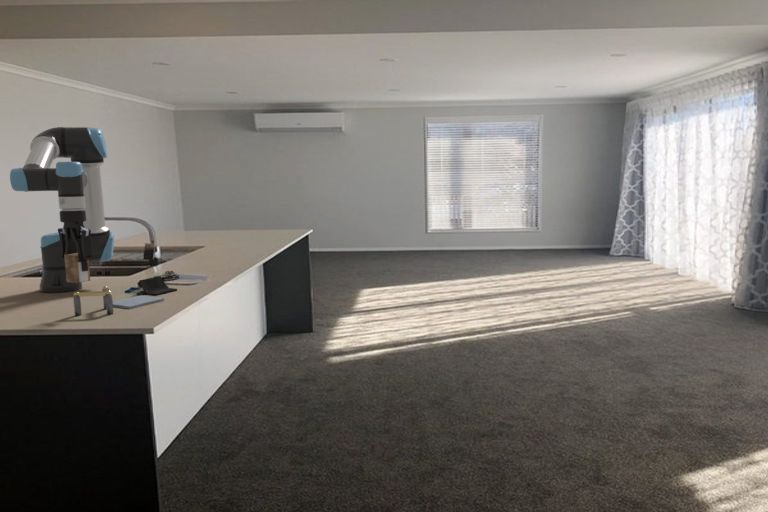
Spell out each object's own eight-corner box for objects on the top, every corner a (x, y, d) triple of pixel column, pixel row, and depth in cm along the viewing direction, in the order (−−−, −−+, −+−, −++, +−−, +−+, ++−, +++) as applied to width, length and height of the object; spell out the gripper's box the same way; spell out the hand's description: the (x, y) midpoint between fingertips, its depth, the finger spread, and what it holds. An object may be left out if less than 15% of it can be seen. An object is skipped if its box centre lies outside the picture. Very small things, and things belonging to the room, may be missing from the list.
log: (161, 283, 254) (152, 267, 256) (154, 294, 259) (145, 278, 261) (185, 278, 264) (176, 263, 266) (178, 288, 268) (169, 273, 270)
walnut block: (66, 281, 195) (64, 254, 193) (80, 279, 199) (78, 252, 198) (76, 283, 192) (74, 255, 191) (90, 280, 197) (88, 253, 195)
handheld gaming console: (160, 292, 227) (148, 270, 228) (148, 302, 228) (135, 281, 230) (179, 290, 238) (167, 270, 239) (167, 300, 239) (155, 280, 241)
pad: (106, 305, 211) (106, 303, 211) (141, 297, 224) (141, 295, 224) (130, 308, 206) (129, 306, 206) (164, 300, 219) (163, 298, 219)
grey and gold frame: (73, 315, 197) (71, 292, 196) (107, 307, 208) (105, 285, 207) (93, 318, 192) (91, 294, 191) (127, 310, 204) (125, 287, 202)
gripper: (44, 209, 193) (50, 280, 196) (79, 211, 185) (85, 284, 188) (65, 208, 200) (71, 276, 203) (101, 209, 191) (106, 280, 195)
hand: (78, 280), depth 196 cm, fingers closed on walnut block, 5 cm apart
